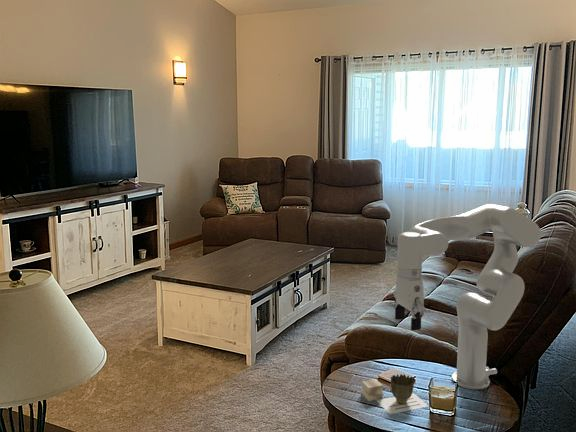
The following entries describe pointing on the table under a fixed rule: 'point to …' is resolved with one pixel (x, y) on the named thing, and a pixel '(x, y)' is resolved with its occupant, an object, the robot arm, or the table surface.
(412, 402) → the letter
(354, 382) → the table surface
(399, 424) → the table surface
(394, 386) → the dark olive tapered piece
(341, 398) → the table surface
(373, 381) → the beech block
